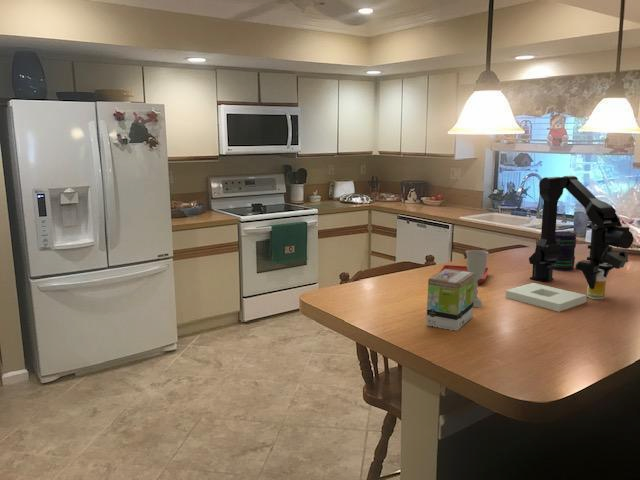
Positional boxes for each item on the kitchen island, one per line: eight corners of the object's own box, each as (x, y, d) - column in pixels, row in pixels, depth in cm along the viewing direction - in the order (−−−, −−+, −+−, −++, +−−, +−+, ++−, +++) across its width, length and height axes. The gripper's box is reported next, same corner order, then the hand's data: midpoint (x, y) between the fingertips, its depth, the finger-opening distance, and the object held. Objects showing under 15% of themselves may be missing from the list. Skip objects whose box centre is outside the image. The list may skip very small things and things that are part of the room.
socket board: (505, 297, 188) (505, 290, 187) (532, 289, 197) (532, 282, 196) (559, 311, 172) (559, 304, 171) (585, 302, 181) (586, 295, 180)
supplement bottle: (606, 300, 183) (608, 272, 181) (589, 299, 184) (591, 271, 182) (601, 295, 188) (603, 268, 186) (584, 294, 189) (587, 267, 187)
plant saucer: (436, 282, 209) (436, 274, 208) (443, 271, 225) (443, 264, 224) (485, 287, 202) (485, 278, 201) (488, 275, 219) (489, 267, 218)
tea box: (458, 332, 155) (460, 282, 153) (425, 326, 161) (426, 278, 158) (473, 317, 168) (475, 271, 165) (442, 312, 173) (443, 267, 170)
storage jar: (575, 267, 228) (578, 232, 225) (572, 272, 220) (575, 236, 217) (550, 264, 233) (552, 230, 230) (546, 269, 225) (548, 234, 222)
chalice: (486, 302, 182) (489, 250, 178) (485, 308, 176) (488, 254, 172) (464, 301, 184) (466, 249, 181) (462, 306, 178) (464, 253, 174)
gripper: (610, 250, 171) (605, 297, 173) (638, 243, 181) (634, 287, 184) (576, 245, 179) (572, 290, 182) (605, 238, 190) (601, 281, 193)
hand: (596, 287), depth 185 cm, fingers closed on supplement bottle, 5 cm apart
